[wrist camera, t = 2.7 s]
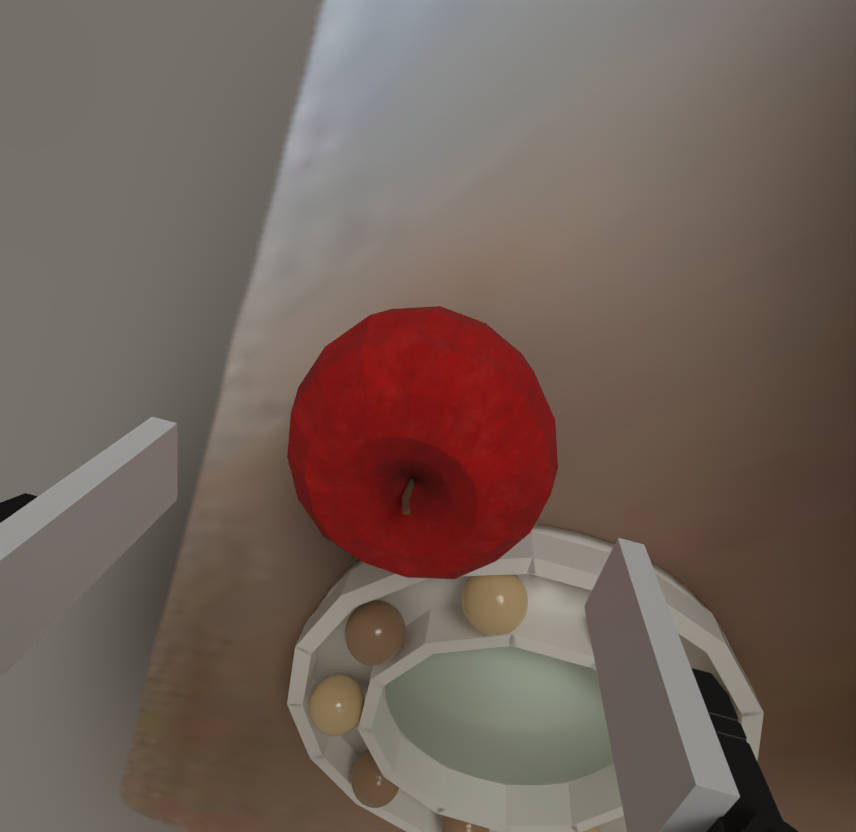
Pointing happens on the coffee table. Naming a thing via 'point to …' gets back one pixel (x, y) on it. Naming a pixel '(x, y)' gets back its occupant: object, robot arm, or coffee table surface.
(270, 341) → the coffee table surface
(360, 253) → the coffee table surface
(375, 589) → the bead tray
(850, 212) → the coffee table surface
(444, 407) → the apple
